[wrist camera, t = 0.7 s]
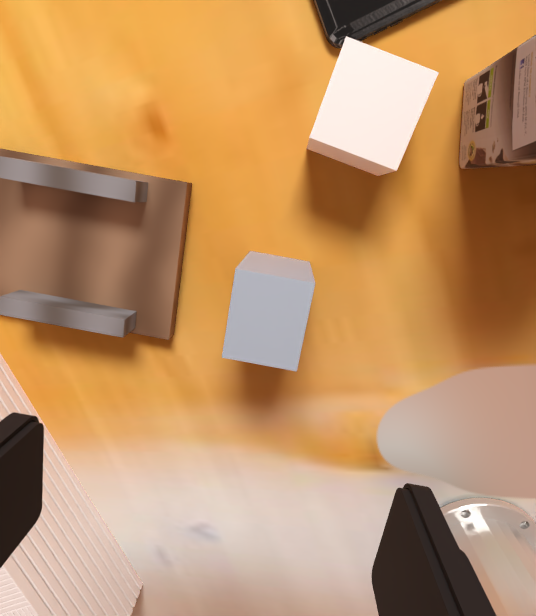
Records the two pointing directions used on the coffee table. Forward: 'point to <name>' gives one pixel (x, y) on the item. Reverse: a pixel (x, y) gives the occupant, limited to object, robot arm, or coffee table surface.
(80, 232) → the display stand
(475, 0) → the coffee table surface
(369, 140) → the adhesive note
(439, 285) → the coffee table surface
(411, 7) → the phone
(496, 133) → the coffee box
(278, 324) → the slate block
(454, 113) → the coffee table surface
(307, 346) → the coffee table surface
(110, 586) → the stack of papers
